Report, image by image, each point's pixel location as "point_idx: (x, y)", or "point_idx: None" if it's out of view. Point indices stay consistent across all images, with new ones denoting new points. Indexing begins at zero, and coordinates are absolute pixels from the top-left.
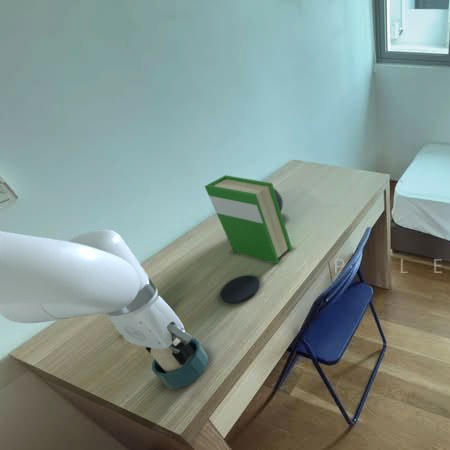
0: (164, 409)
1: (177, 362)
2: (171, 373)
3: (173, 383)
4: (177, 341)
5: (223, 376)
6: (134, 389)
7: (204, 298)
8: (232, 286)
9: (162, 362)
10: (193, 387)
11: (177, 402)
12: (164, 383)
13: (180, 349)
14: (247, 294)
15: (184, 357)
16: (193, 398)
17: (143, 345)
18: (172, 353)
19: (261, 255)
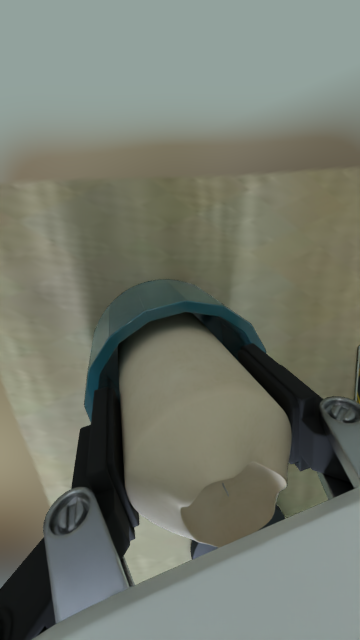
0: (88, 218)
1: (124, 389)
2: (113, 338)
3: (126, 300)
4: (158, 523)
5: (11, 389)
6: (261, 224)
7: (308, 475)
8: None
9: (164, 371)
10: (72, 318)
11: (69, 257)
12: (165, 283)
13: (42, 545)
14: (204, 548)
15: (78, 443)
16: (27, 293)
17: (314, 545)
18: (103, 472)
19: None
